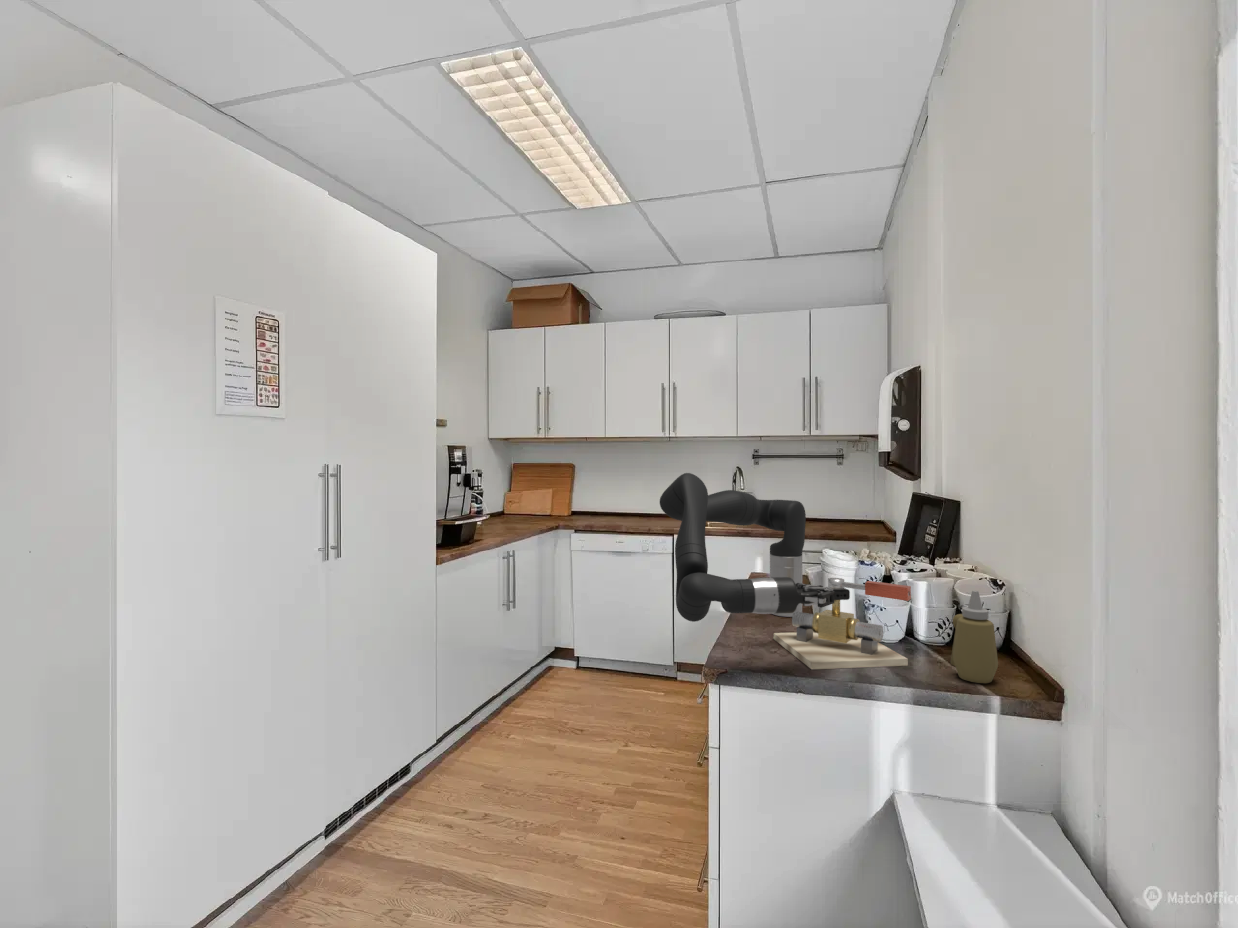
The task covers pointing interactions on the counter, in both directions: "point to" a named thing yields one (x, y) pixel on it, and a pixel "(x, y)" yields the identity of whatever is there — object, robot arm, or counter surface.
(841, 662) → the base board
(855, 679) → the counter surface
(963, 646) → the squeeze bottle
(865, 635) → the valve and pipe
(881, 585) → the lever
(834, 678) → the counter surface
